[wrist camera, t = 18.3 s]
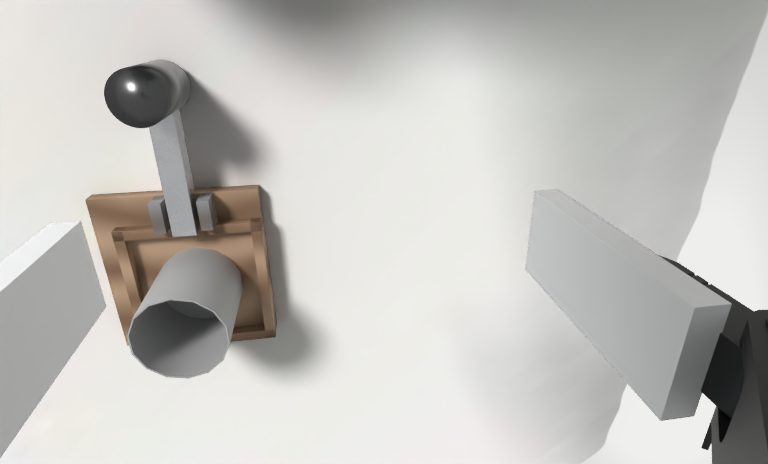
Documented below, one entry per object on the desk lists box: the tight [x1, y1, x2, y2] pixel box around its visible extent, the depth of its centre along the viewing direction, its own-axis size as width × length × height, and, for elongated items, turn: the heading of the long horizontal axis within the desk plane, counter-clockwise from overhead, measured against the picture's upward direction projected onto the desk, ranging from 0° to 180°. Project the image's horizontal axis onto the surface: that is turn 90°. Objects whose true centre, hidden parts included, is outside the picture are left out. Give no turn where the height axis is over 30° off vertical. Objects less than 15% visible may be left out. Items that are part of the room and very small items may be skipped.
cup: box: [127, 247, 243, 378], centre depth 46 cm, size 8×8×10 cm
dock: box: [86, 185, 277, 346], centre depth 49 cm, size 17×16×4 cm
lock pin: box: [104, 60, 201, 237], centre depth 41 cm, size 16×4×8 cm, turn 1°
